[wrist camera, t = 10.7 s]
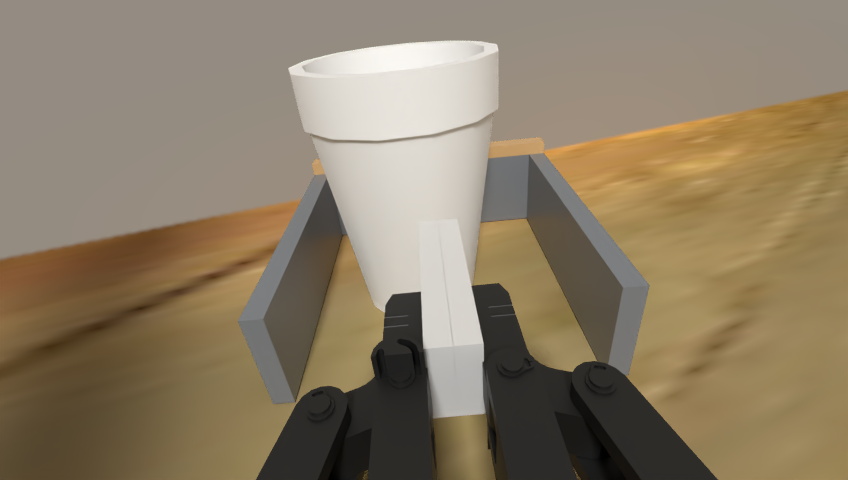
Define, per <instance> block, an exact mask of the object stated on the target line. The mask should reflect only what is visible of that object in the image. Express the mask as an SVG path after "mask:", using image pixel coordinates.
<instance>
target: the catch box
mask: <svg viewBox="0 0 848 480" xmlns="http://www.w3.org/2000/svg"><path fill="white" fill-rule="evenodd" d="M312 166H313V170H314V177H313V179H312V181H311V183H310V185H309V187H308V189H307V191H306V192H305V194H304V196H303V198H302V200H301V202H300V204H299V206H298V208H297V210H296V211H295V213H294V215H293V217H292V219H291V221H290V223H289V225H288V227H287V229H286V231H285V232H284V234H283V236H282V238H281V240H280V242H279V244H278V246H277V248H276V250H275V252H274V253H273V255H272V257H271V259H270V261H269V263H268V265H267V267H266V269H265V271H264V272H263V274H262V276H261V278H260V280H259V282H258V284H257V286H256V288H255V290H254V292H253V293H252V295H251V297H250V299H249V301H248V303H247V305H246V307H245V309H244V311H243V313H242V314H241V316H240V318H239V320H238V323H239V325H240V327H241V330H242V332H243V334H244V337H245V339H246V341H247V344H248V346H249V348H250V351H251V353H252V355H253V358H254V360H255V362H256V365H257V367H258V369H259V372H260V374H261V376H262V379H263V381H264V383H265V386H266V388H267V390H268V393H269V395H270V397H271V400H272V402H273V404H278V403H290V402H295V401H296V397H297V394H298V390H299V386H300V383H301V379H302V376H303V372H304V369H305V365H306V362H307V358H308V355H309V351H310V348H311V344H312V341H313V337H314V334H315V330H316V327H317V323H318V320H319V316H320V312H321V309H322V305H323V302H324V298H325V295H326V291H327V288H328V284H329V281H330V277H331V274H332V270H333V267H334V263H335V260H336V256H337V253H338V249H339V245H340V242H341V238H342V235H348V234H347V231H346V229H345V226H344V223H343V221H342V218H341V215H340V213H339V210H338V207H337V205H336V202H335V199H334V197H333V194H332V191H331V188H330V186H329V183H328V180H327V178H326V175H325V172H324V170H323V167H322V164H321V162H320V159H315V160H314V162H313V163H312ZM521 218H527V220H528V222H529V224H530V226H531V228H532V230H533V232H534V234H535V236H536V238H537V240H538V242H539V244H540V246H541V248H542V250H543V252H544V254H545V256H546V258H547V260H548V262H549V264H550V266H551V268H552V270H553V272H554V274H555V276H556V278H557V280H558V282H559V284H560V286H561V288H562V290H563V292H564V294H565V296H566V298H567V300H568V302H569V304H570V306H571V308H572V310H573V312H574V314H575V316H576V318H577V320H578V322H579V324H580V326H581V328H582V330H583V332H584V334H585V336H586V338H587V340H588V342H589V344H590V346H591V348H592V350H593V352H594V354H595V356H596V358H597V360H598V362H602V363H606V364H609V365H611V366H613V367H615V368H617V369H618V370H619V371H620V372H622V373H623V374H624V375H629V370H630V366H631V362H632V358H633V353H634V349H635V345H636V341H637V336H638V332H639V328H640V324H641V320H642V315H643V311H644V307H645V303H646V298H647V294H648V290H649V286H650V285H649V284H648V283H647V282H646V280H645V279H644V278H643V277H642V275H641V274H640V273H639V272H638V270H637V269H636V268H635V267H634V265H633V264H632V263H631V262H630V260H629V259H628V258H627V257H626V255H625V254H624V253H623V252H622V250H621V249H620V248H619V247H618V245H617V244H616V243H615V242H614V240H613V239H612V238H611V237H610V235H609V234H608V233H607V232H606V230H605V229H604V228H603V227H602V225H601V224H600V223H599V222H598V220H597V219H596V218H595V217H594V215H593V214H592V213H591V212H590V210H589V209H588V208H587V207H586V205H585V204H584V203H583V202H582V200H581V199H580V198H579V197H578V195H577V194H576V193H575V192H574V190H573V189H572V188H571V187H570V185H569V184H568V183H567V182H566V180H565V179H564V178H563V177H562V175H561V174H560V173H559V172H558V170H557V169H556V168H555V167H554V165H553V164H552V163H551V162H550V160H549V159H548V158H547V157H546V155H545V154H544V141H543V140H542V139H541V138H540V137H538V138H528V139H518V140H508V141H497V142H490V146H489V154H488V163H487V171H486V179H485V187H484V196H483V204H482V212H481V221H480V222H489V221H500V220H510V219H521Z"/></svg>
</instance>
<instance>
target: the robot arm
mask: <svg viewBox="0 0 848 480" xmlns="http://www.w3.org/2000/svg"><path fill="white" fill-rule="evenodd" d="M418 233H419V256H420V280H421V292H411V293H400V294H392V296H391V297H390V299H389V300H388V302H387V303H386V305H385V319H384V332H383V341H381V342H379V344H378V345H377V346H376V347H375V348H374V349H373V352H372V355H371V360H372V365H373V369H374V374H375V377H374V378H373V379H372V380H371V381H370V382H368V383H367V384H366V385H364V386H361V387H359V388H357V389H354V390H352V391H349V392H346V393H343V392H342V391H341V390H340V389H339V388H335V387H332V386H325V387H319V388H316V389H314V390H311V391H310V392H308V393H307V394H306V395H304V396H303V397H302V398H301V399H300V401H299V402H298V403H297V404H296V406H295V408H294V410H293V412H292V414H291V415H290V417H289V419H288V421H287V423H286V425H285V427H284V428H283V430H282V432H281V434H280V436H279V438H278V440H277V442H276V443H275V445H274V447H273V449H272V451H271V453H270V455H269V456H268V458H267V460H266V462H265V464H264V466H263V468H262V469H261V471H260V473H259V475H258V477H257V479H256V480H362V478H363V475H364V471H366V470H368V469H369V470H368V480H437V465H436V449H435V435H434V427H433V418H441V417H452V416H464V415H475V414H485V410H486V415H487V426H488V449H491V454H492V460H493V466H494V471H495V477H496V480H577V478H576V475H575V472H574V469H573V467H574V468H575V470H576V472H577V473H578V475H579V477H580V478H581V480H718V479H717V478H716V477H715V476H714V475H713V474H712V473H711V472H710V470H709V469H708V468H707V467H706V466H705V465H704V464H703V463H702V461H701V460H700V459H699V458H698V457H697V456H696V455H695V454H694V452H693V451H692V450H691V449H690V448H689V447H688V446H687V445H686V443H685V442H684V441H683V440H682V439H681V438H680V437H679V436H678V434H677V433H676V432H675V431H674V430H673V429H672V428H671V427H670V425H669V424H668V423H667V422H666V421H665V420H664V419H663V418H662V417H661V415H660V414H659V413H658V412H657V411H656V410H655V409H654V408H653V406H652V405H651V404H650V403H649V402H648V401H647V400H646V399H645V397H644V396H643V395H642V394H641V393H640V392H639V391H638V390H637V388H636V387H635V386H634V385H633V384H632V383H631V382H630V381H629V379H628V378H627V377H626V376H625V375H624V374H623V373H622V372H620V371H619V370H618V369H617V368H615V367H613V366H611V365H609V364H606V363H602V362H596V361H592V362H584V363H582V364H580V365H578V366H577V367H576V368H575V369H574V371H573V372H568V371H563V370H557V369H553V368H549V367H546V366H544V365H542V364H540V363H539V362H537V361H536V360H535V359H534V358H533V357H532V356H531V355H530V354H529V352H528V350H527V347H526V344H525V341H524V338H523V335H522V332H521V329H520V326H519V323H518V320H517V317H516V315H515V311H514V308H513V306H512V302H511V299H510V296H509V293H508V292H507V291H506V290H505V289H504V288H503V287H502V286H501V285H500V284H499V283H497V284H486V285H475V286H471V282H470V277H469V273H468V268H467V263H466V258H465V254H464V249H463V244H462V240H461V235H460V230H459V226H458V221H457V219H447V220H437V221H426V222H418ZM572 465H573V466H572Z"/></svg>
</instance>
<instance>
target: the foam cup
mask: <svg viewBox="0 0 848 480" xmlns="http://www.w3.org/2000/svg"><path fill="white" fill-rule="evenodd" d="M498 54H499V51H498V47H497V44H492V43H486V42H480V41H435V42H417V43H405V44H396V45H388V46H378V47H370V48H364V49H358V50H352V51H346V52H340V53H334V54H330V55H326V56H322V57H318V58H314V59H310V60H306V61H303V62H301V63H299V64H296V65H294V66H292V67H290V68H288V70H289V74H290V78H291V82H292V86H293V90H294V94H295V98H296V102H297V107H298V111H299V115H300V119H301V122H302V125H303V128H304V131H305V132H308V133H310V135H311V137H312V140H313V143H314V145H315V148H316V151H317V154H318V156H319V159H320V162H321V164H322V167H323V170H324V172H325V175H326V178H327V180H328V183H329V186H330V188H331V191H332V194H333V197H334V199H335V202H336V205H337V207H338V210H339V213H340V215H341V218H342V221H343V223H344V226H345V229H346V231H347V234H348V237H349V239H350V242H351V245H352V248H353V250H354V253H355V256H356V258H357V261H358V264H359V266H360V269H361V272H362V274H363V277H364V280H365V282H366V285H367V288H368V291H369V293H370V296H371V298H372V300H373V303H374V306H375V307H377V308H378V309H380V310H381V311H383V312H384V313H385V305H386V303H387V302H388V300H389V299H390V297H391V296H392V294H400V293H411V292H421V280H420V256H419V233H418V222H426V221H437V220H447V219H457V221H458V226H459V230H460V235H461V240H462V244H463V249H464V254H465V258H466V263H467V268H468V273H469V277H470V282H471V286H472V285H473V279H474V270H475V262H476V254H477V246H478V237H479V229H480V221H481V212H482V204H483V196H484V187H485V179H486V171H487V163H488V154H489V146H490V137H491V129H492V121H493V113H494V111H495V110H497V109H498V61H499V60H498V59H499V58H498Z"/></svg>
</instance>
